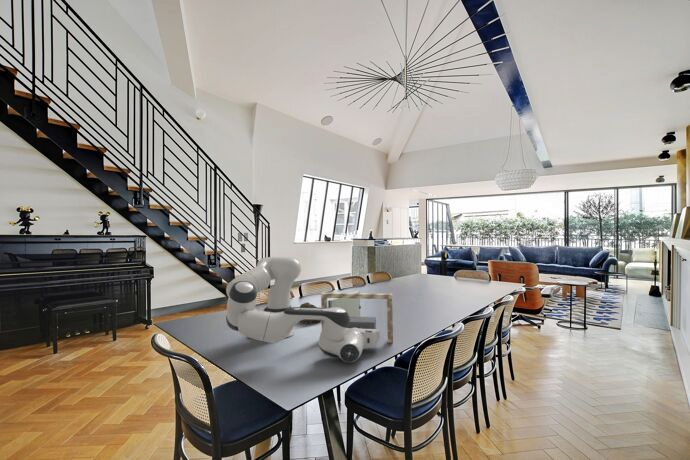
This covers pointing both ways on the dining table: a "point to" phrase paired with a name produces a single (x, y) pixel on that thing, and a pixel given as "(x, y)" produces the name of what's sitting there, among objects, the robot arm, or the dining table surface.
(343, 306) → the door
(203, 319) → the dining table surface
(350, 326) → the block
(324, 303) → the door frame
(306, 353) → the dining table surface
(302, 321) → the decorative stone
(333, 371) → the dining table surface
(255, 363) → the dining table surface
